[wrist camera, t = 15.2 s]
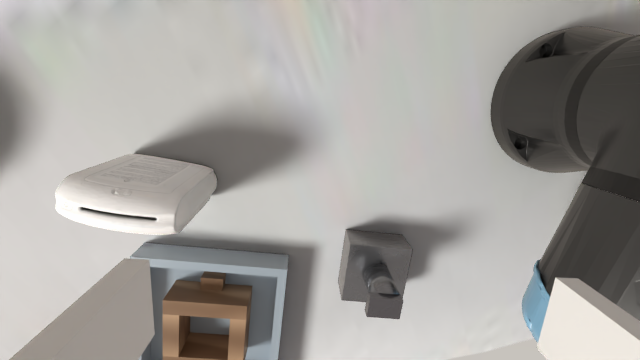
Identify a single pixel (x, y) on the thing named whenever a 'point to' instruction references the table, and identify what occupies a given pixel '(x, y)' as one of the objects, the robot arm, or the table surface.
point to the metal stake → (375, 271)
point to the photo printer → (136, 194)
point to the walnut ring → (206, 301)
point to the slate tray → (240, 269)
